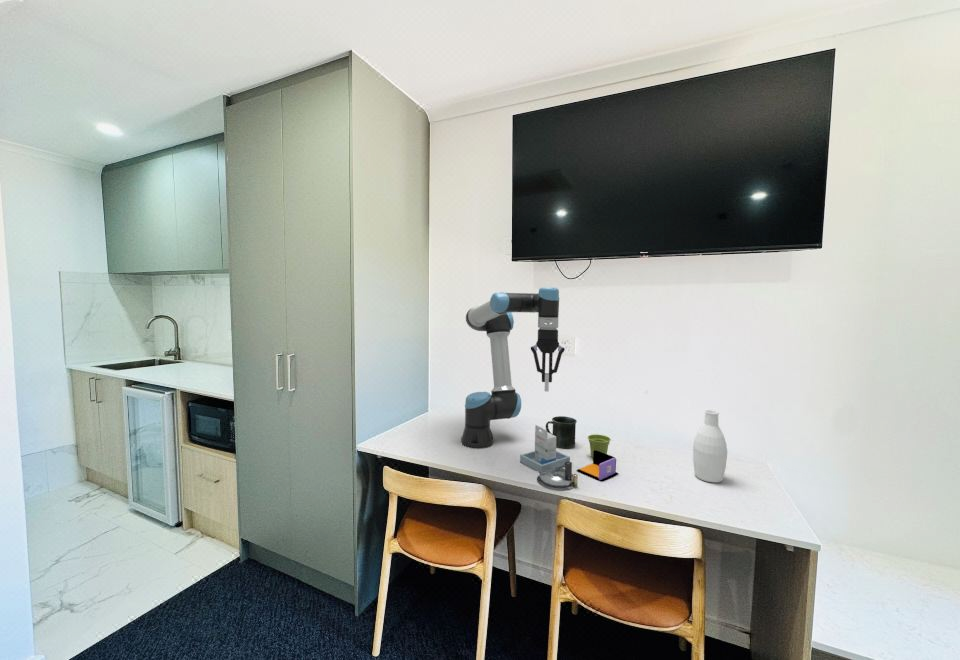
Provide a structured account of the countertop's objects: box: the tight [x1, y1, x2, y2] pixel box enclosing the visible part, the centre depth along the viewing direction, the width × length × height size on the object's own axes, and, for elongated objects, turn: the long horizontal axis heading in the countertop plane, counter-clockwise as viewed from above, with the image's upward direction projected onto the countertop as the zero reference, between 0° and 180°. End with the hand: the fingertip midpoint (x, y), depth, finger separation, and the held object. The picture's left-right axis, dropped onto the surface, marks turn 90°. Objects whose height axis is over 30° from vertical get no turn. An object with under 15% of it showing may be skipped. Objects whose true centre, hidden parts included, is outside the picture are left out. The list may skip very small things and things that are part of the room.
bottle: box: [692, 409, 728, 484], centre depth 141 cm, size 11×11×25 cm
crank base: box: [536, 473, 579, 492], centre depth 135 cm, size 14×14×5 cm
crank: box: [539, 461, 574, 488], centre depth 135 cm, size 12×12×8 cm
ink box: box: [534, 424, 557, 464], centre depth 151 cm, size 9×5×15 cm, turn 26°
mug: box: [545, 415, 578, 450], centre depth 173 cm, size 11×15×12 cm
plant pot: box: [587, 433, 612, 459], centre depth 158 cm, size 9×9×9 cm
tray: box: [519, 450, 571, 474], centre depth 151 cm, size 13×16×4 cm
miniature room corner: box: [575, 450, 619, 482], centre depth 144 cm, size 12×12×7 cm
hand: (546, 390), depth 141 cm, fingers closed
